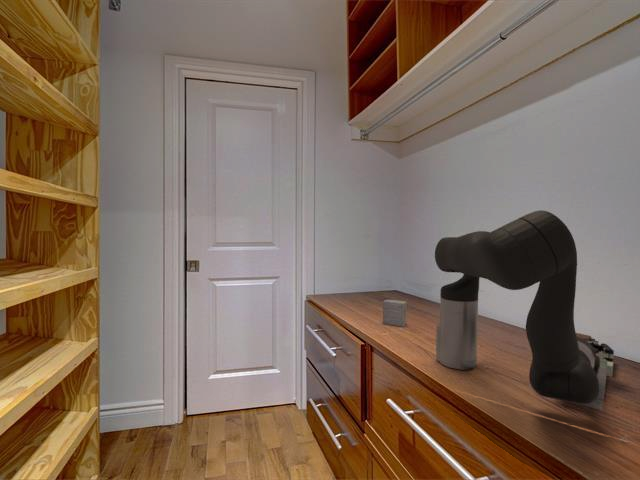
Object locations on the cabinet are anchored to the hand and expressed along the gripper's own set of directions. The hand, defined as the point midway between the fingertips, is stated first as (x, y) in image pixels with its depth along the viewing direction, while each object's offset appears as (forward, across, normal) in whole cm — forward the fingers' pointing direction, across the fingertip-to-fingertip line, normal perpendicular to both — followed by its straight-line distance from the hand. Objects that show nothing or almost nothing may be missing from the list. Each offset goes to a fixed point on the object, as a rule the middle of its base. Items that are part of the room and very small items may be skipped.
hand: (580, 340), depth 90 cm
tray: (+4, 0, +7) cm, 8 cm away
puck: (+1, -2, +7) cm, 7 cm away
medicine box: (+7, +56, +8) cm, 57 cm away
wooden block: (-3, 0, +6) cm, 7 cm away
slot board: (-7, 0, +8) cm, 10 cm away
